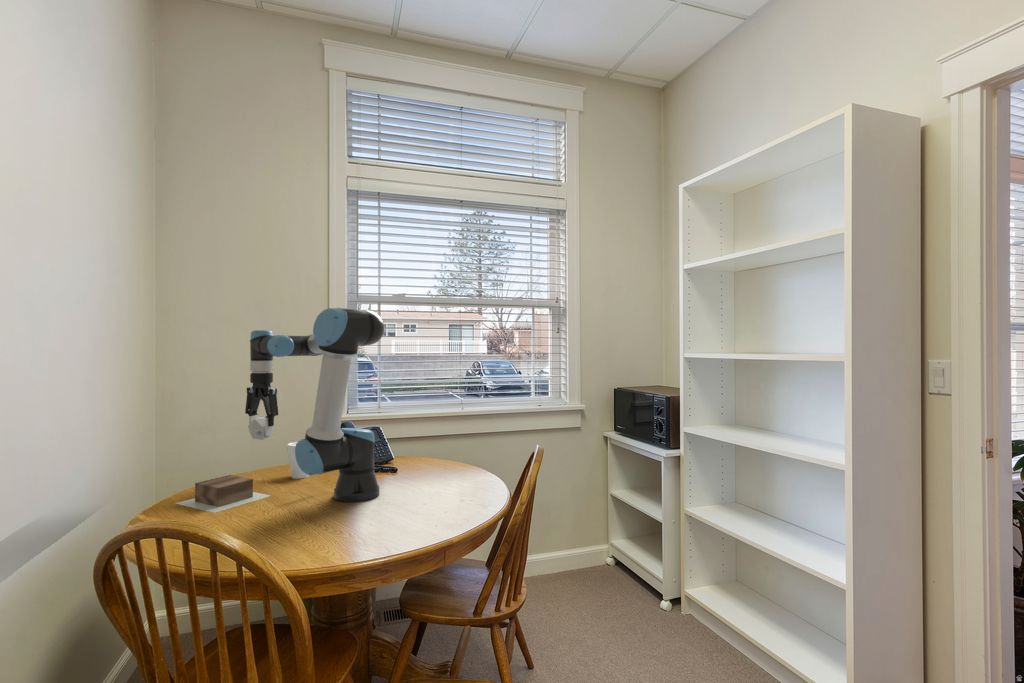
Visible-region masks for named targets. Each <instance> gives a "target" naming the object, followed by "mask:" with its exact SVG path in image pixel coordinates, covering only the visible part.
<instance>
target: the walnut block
mask: <svg viewBox="0 0 1024 683" xmlns="http://www.w3.org/2000/svg"><path fill="white" fill-rule="evenodd" d="M194 486H195V487H194V491H195V492H194V498H195V502H199V503H203V504H207V505H212V506H216V507H221V506H224V505H228V504H231V503H234V502H238V501H241V500H245V499H248V498H252V497H253V492H254V479H252V478H249V477H243V476H239V475H238V476H237V475H232V474H228V475H224V476H219V477H216V478H211V479H207V480H203V481H199V482H195V483H194Z"/></svg>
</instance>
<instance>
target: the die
mask: <svg viewBox="0 0 1024 683" xmlns="http://www.w3.org/2000/svg"><path fill="white" fill-rule="evenodd" d="M265 418H266V416H265V417H262V416H261V417H259V416H258V418H256V419H254V420H253V421H252V422H251V423H250V422H249V424H248V426H247V428H248V431H249V434H250V436H251V438H252V439H253V440H260V441H264V440H266V439H268V438H269V437H270V436H271V435H268V436H265ZM274 432H275V429H274V427H273V433H274Z"/></svg>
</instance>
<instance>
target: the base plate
mask: <svg viewBox="0 0 1024 683" xmlns="http://www.w3.org/2000/svg"><path fill="white" fill-rule="evenodd" d="M269 497H271V494H266V493H265V494H264V493H259V492H257V491H256V492H255V491H253V497H252V498H248V499H245V500H241V501H238V502H234V503H231V504H228V505H224V506H221V507H216V506H212V505H207V504H203V503H199V502H195V497H193V498H189V499H187V500H186V499H185V500H183V501H182V500H181V501H179V502H175V503H174V504H177V505H180V506H185V507H188V508H192V509H196V510H201V511H203V512H204V511H205V512H210V513H214V514H215V513H218V512H222V511H225V510H228V509H233V508H236V507H238V506H243V505H245V504H249V503H251V502H255V501H258V500H259V501H260V500H262V499H265V498H269Z"/></svg>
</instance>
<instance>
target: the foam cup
mask: <svg viewBox="0 0 1024 683" xmlns="http://www.w3.org/2000/svg"><path fill="white" fill-rule="evenodd" d="M298 442H299V441H293V442H289V443H287V453H288V460H289V466H290V468H289V469H290V474H291V475H290V476H291V479H296V480H298V479H305V478H308V477H310V475H307V474H305V473H304V472H302V470H301V469H300V468H299V466H298V463H297V461H296V457H295V447H296V444H297V443H298Z"/></svg>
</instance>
